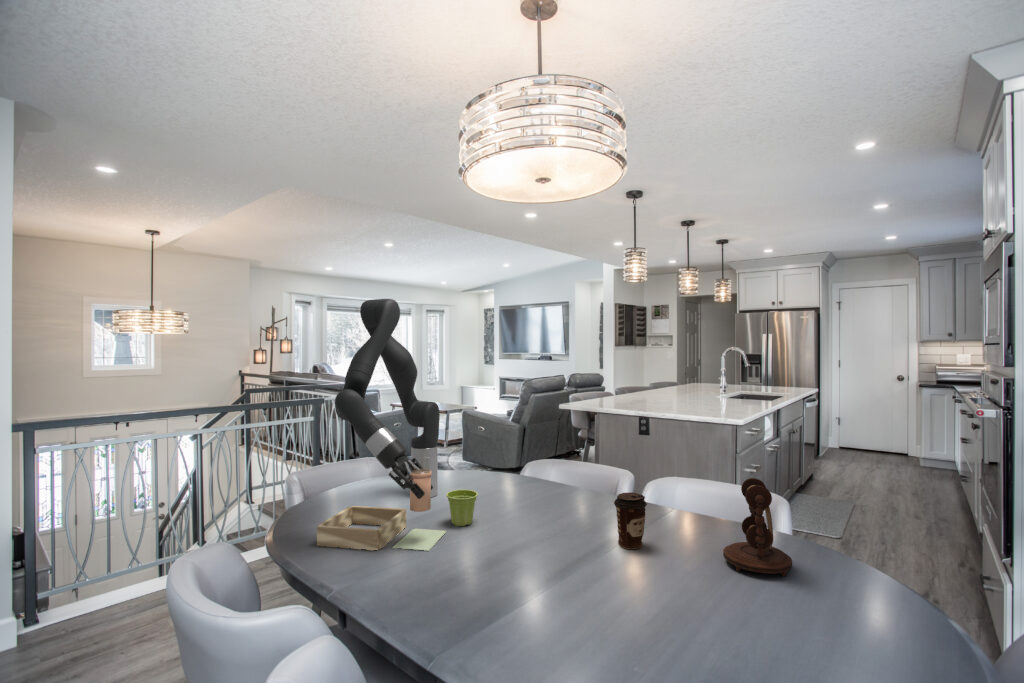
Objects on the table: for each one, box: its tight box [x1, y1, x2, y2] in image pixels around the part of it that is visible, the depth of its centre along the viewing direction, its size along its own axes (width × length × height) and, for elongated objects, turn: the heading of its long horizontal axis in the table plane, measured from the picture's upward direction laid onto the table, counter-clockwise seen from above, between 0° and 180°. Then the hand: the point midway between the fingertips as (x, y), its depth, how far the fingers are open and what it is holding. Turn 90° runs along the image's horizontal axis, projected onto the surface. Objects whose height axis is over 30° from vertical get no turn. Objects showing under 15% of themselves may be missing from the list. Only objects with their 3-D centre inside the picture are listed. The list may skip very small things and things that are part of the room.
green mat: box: [392, 528, 448, 552], centre depth 138 cm, size 14×10×1 cm
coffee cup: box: [613, 492, 648, 550], centre depth 134 cm, size 9×8×13 cm
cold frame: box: [316, 505, 407, 551], centre depth 142 cm, size 18×18×5 cm
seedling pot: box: [409, 469, 432, 513], centre depth 139 cm, size 6×6×10 cm
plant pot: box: [446, 489, 479, 527], centre depth 152 cm, size 9×9×9 cm
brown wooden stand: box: [722, 477, 793, 578], centre depth 121 cm, size 15×15×20 cm
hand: (426, 493), depth 138 cm, fingers closed on seedling pot, 5 cm apart
